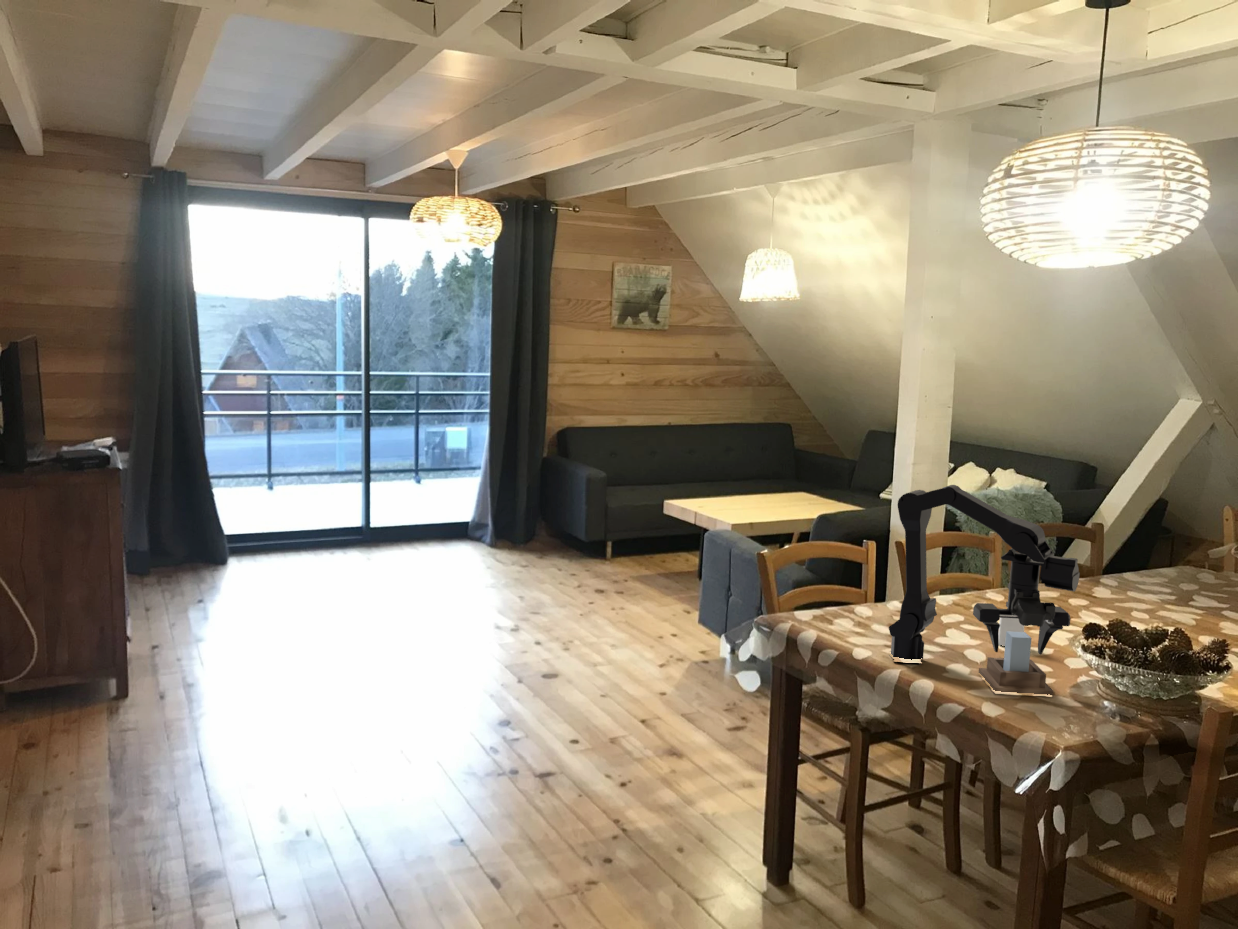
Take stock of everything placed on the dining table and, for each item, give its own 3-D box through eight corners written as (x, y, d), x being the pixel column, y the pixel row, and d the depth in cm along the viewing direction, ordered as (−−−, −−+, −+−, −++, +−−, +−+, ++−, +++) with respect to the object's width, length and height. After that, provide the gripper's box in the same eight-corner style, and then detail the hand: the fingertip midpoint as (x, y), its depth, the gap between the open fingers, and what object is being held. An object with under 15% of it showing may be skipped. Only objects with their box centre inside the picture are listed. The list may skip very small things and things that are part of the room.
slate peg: (1008, 682, 209) (1012, 637, 207) (1002, 675, 213) (1006, 631, 211) (1027, 683, 208) (1031, 638, 207) (1021, 676, 212) (1025, 632, 211)
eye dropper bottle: (1002, 641, 241) (1006, 594, 239) (1025, 647, 237) (1029, 599, 235) (994, 645, 238) (998, 597, 236) (1017, 651, 234) (1021, 602, 232)
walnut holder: (994, 694, 205) (996, 674, 205) (978, 674, 217) (979, 655, 216) (1052, 697, 204) (1054, 677, 204) (1033, 677, 216) (1035, 657, 216)
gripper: (990, 590, 200) (984, 663, 202) (1083, 595, 199) (1076, 668, 201) (975, 577, 211) (969, 646, 213) (1063, 580, 210) (1057, 650, 212)
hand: (1017, 652), depth 210 cm, fingers open, 9 cm apart
